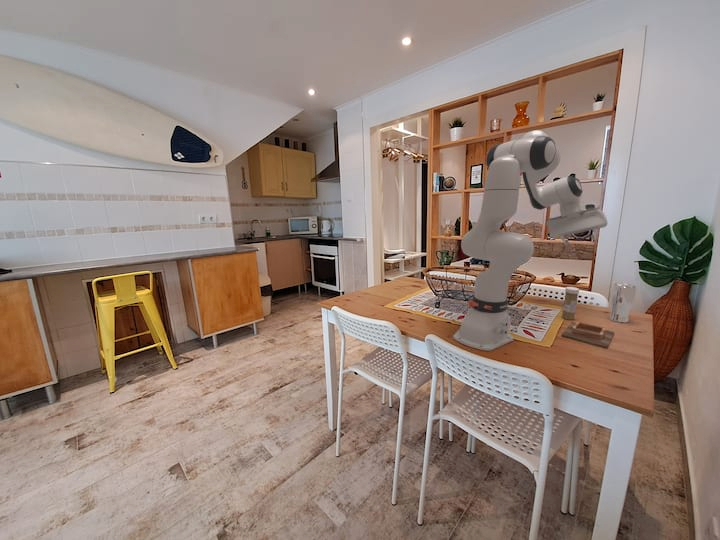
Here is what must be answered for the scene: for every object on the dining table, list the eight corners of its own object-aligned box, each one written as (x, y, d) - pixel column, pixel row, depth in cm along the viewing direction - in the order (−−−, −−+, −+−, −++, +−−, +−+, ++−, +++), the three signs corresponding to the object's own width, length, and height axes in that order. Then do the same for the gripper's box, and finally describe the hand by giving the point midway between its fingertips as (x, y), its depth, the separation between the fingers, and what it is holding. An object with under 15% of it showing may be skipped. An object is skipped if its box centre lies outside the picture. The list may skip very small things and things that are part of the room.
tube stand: (607, 348, 95) (608, 341, 94) (561, 336, 104) (562, 329, 104) (613, 333, 105) (615, 326, 105) (571, 323, 115) (572, 317, 114)
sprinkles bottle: (558, 316, 123) (563, 286, 120) (569, 316, 123) (573, 286, 120) (566, 320, 118) (571, 289, 115) (577, 320, 118) (582, 289, 115)
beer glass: (634, 323, 114) (642, 287, 111) (617, 323, 114) (624, 288, 111) (619, 316, 121) (626, 283, 118) (603, 316, 121) (609, 283, 118)
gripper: (544, 217, 129) (550, 245, 125) (602, 202, 116) (611, 233, 113) (546, 221, 133) (552, 249, 129) (602, 208, 121) (610, 238, 117)
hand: (580, 241), depth 121 cm, fingers open, 8 cm apart
